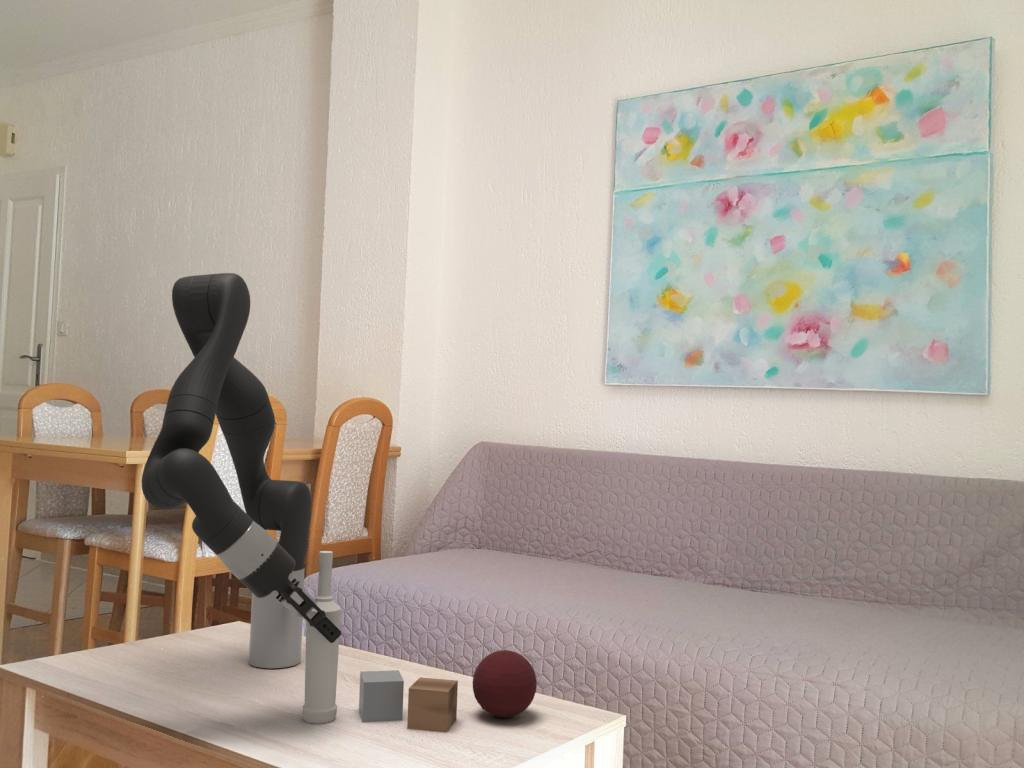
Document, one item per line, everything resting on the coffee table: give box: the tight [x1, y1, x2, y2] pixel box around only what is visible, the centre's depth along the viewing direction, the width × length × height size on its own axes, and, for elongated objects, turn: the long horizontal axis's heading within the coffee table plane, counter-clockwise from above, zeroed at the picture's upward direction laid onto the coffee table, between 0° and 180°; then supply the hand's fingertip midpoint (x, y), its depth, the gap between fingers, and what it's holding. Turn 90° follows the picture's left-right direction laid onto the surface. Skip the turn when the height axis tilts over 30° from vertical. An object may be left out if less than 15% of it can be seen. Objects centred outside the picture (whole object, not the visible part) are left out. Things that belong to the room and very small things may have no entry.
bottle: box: [302, 550, 342, 725], centre depth 141 cm, size 5×5×25 cm
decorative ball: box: [472, 649, 538, 719], centre depth 144 cm, size 10×10×10 cm
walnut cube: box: [406, 676, 459, 734], centre depth 140 cm, size 6×6×6 cm
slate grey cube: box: [358, 669, 405, 723], centre depth 143 cm, size 6×6×6 cm
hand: (329, 631), depth 141 cm, fingers open, 8 cm apart
